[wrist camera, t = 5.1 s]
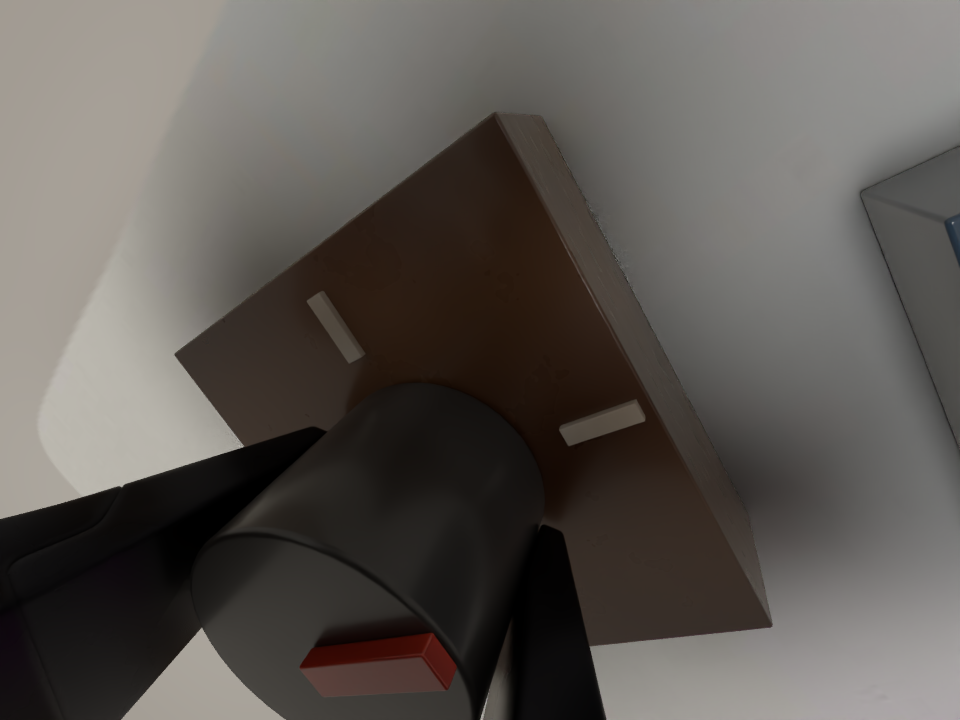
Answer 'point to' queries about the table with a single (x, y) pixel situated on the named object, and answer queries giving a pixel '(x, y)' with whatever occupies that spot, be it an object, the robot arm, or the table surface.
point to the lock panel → (509, 372)
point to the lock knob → (378, 563)
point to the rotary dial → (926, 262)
